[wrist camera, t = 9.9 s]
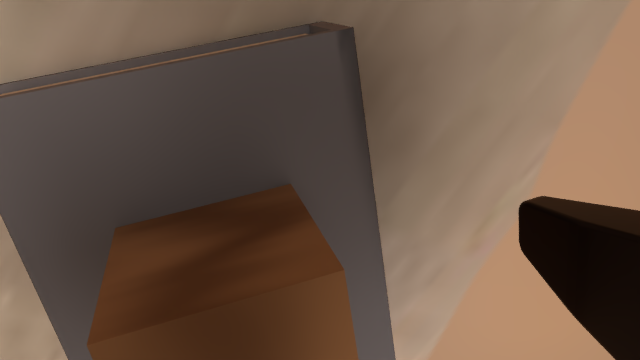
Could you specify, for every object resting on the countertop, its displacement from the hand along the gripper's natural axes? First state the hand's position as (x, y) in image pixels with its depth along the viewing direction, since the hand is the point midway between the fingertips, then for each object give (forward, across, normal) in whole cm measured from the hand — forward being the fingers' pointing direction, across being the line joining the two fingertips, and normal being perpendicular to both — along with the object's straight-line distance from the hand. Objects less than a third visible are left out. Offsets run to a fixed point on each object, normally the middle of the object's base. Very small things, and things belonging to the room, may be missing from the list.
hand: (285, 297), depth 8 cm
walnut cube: (+9, +2, +5) cm, 10 cm away
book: (+13, +2, +5) cm, 14 cm away
